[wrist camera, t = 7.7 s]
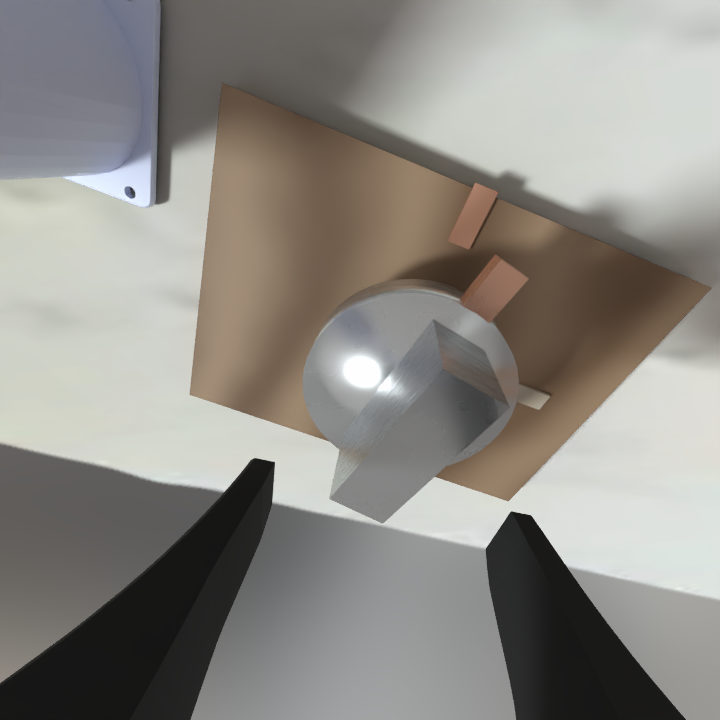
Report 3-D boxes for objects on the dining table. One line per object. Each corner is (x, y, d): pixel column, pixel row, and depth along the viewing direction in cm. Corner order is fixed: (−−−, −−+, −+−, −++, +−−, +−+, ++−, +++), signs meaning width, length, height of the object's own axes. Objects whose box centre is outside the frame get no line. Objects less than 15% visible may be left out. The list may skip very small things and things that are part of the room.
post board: (199, 383, 22) (173, 413, 20) (236, 82, 14) (198, 64, 11) (503, 486, 24) (516, 525, 21) (695, 275, 16) (752, 298, 13)
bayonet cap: (427, 465, 19) (436, 565, 14) (283, 391, 17) (240, 477, 13) (586, 313, 14) (682, 393, 9) (402, 188, 12) (403, 206, 8)
